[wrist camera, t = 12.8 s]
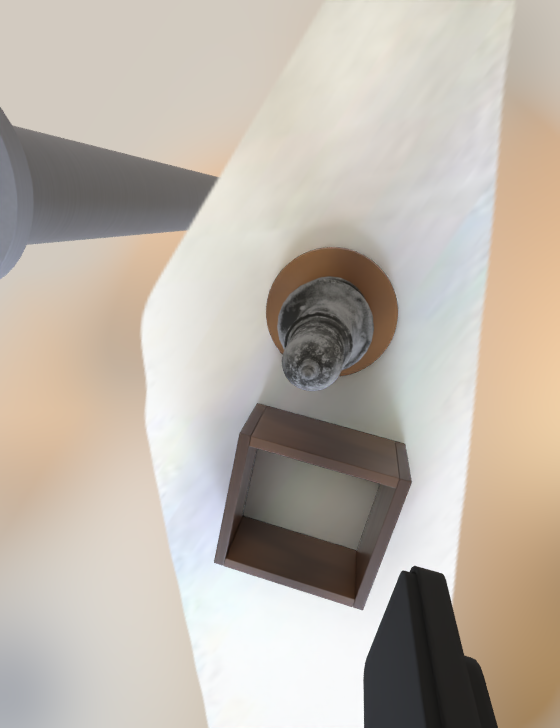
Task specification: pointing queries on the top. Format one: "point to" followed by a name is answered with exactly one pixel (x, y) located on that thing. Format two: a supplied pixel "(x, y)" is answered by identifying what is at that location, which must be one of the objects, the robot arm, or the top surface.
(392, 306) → the coaster
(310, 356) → the stone chess piece
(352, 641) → the top surface
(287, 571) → the crate
